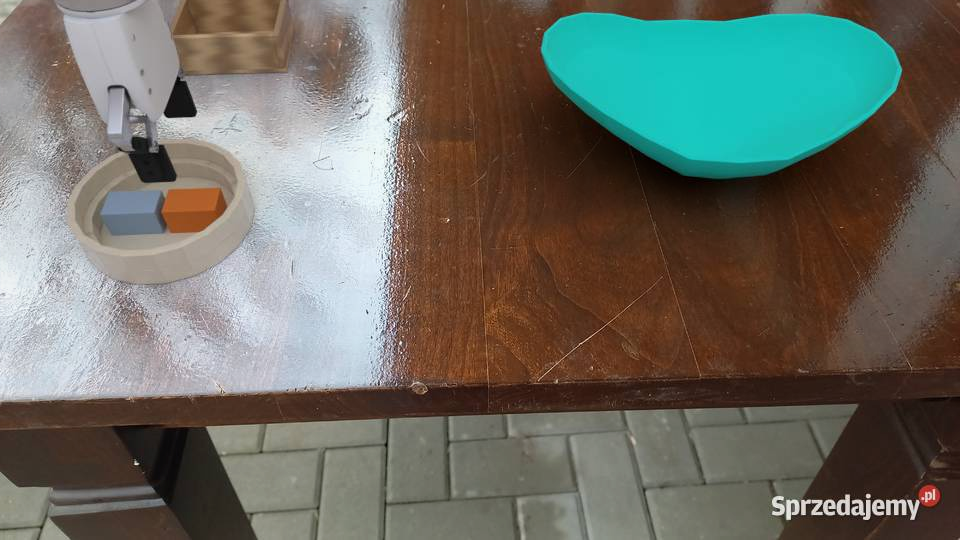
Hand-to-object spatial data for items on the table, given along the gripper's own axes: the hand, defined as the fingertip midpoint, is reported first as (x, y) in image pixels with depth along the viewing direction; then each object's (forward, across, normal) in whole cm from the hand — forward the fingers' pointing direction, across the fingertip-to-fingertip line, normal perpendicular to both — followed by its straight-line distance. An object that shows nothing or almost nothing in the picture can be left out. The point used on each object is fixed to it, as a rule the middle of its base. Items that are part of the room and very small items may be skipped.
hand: (171, 146), depth 68 cm
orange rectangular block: (+10, 0, 0) cm, 10 cm away
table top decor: (+12, -11, +58) cm, 60 cm away
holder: (+11, -34, -2) cm, 36 cm away
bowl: (+11, 0, -4) cm, 12 cm away
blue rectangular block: (+10, 0, -7) cm, 12 cm away
